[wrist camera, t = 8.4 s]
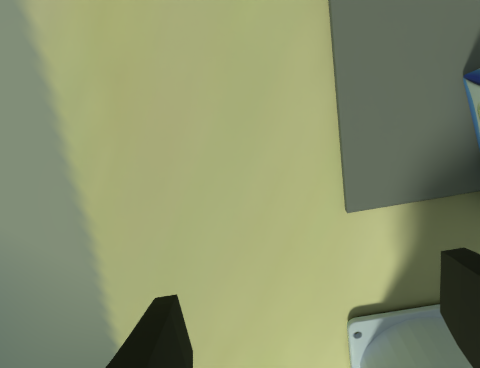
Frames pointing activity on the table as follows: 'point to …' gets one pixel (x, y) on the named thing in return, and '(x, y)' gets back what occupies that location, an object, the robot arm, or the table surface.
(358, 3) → the mat
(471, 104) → the medicine box
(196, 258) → the table surface
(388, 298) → the table surface
